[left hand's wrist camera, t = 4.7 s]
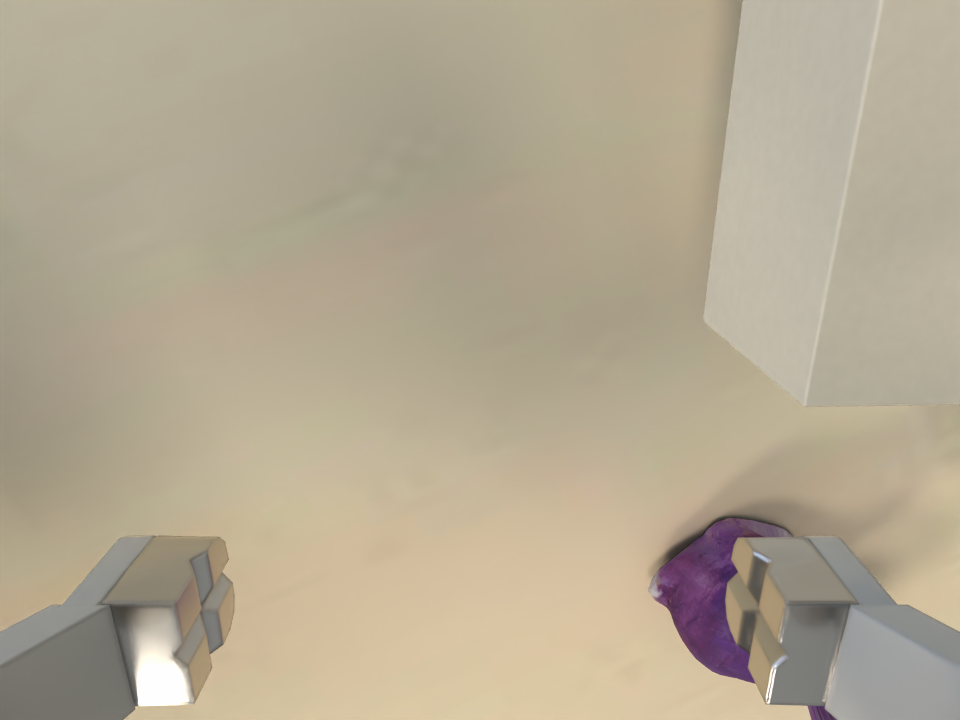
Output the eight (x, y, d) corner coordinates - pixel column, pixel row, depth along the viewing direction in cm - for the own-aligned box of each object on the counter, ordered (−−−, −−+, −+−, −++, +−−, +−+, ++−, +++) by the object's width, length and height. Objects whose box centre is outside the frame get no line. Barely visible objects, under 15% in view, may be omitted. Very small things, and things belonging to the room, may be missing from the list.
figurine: (853, 562, 41) (1060, 797, 27) (720, 653, 43) (847, 913, 29) (767, 467, 38) (945, 671, 24) (631, 569, 40) (722, 809, 26)
